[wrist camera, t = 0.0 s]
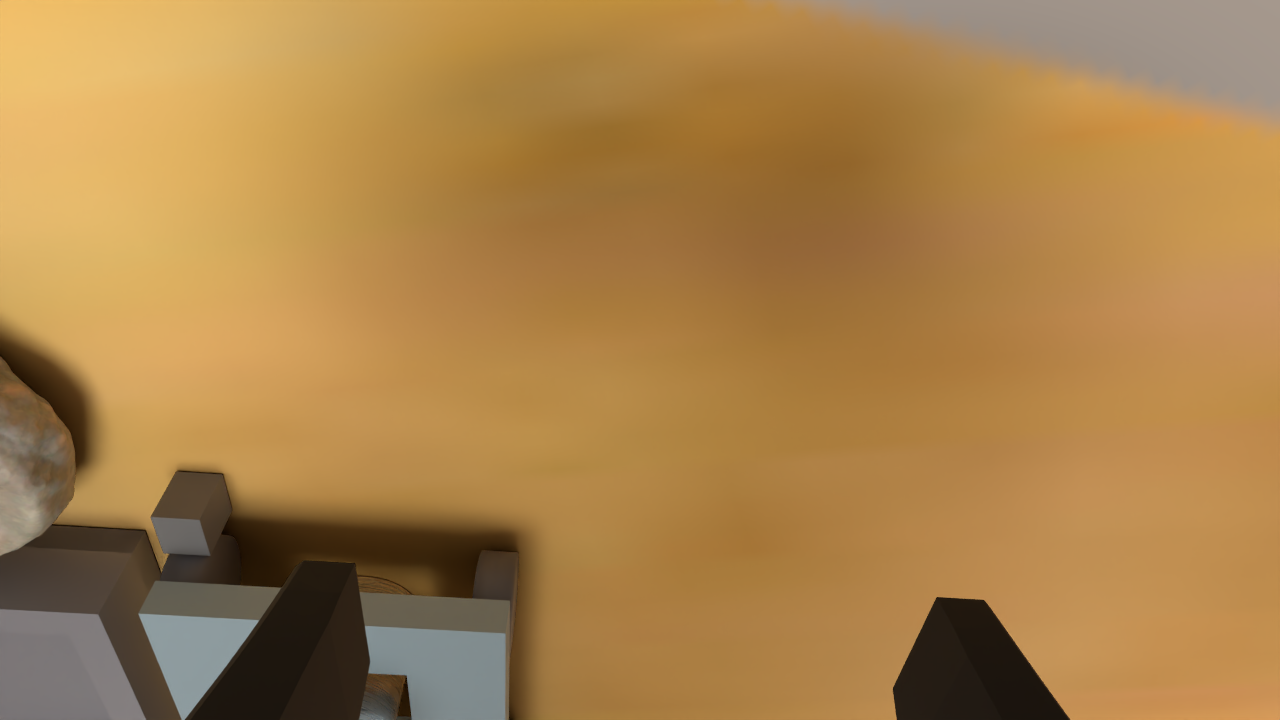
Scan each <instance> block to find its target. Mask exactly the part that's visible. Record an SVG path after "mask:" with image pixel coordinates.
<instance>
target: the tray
mask: <svg viewBox="0 0 1280 720" xmlns="http://www.w3.org/2000/svg"><path fill="white" fill-rule="evenodd" d="M160 578H161V573H160V570H159V567H158V565H157V562H156V559H155V557H154V554H153V551H152V548H151V546H150V543H149V540H148V538H147V535H146V532H145V531H138V530H121V529H105V528H88V527H71V526H54V525H51V526H50V527H49V528H47V530H46V531H45V532H44V533H43V534H42V535H41V536H39V537H36V538H35V539H33V540H31V541H30V542H28V543H27V544H25V545H24V546H22V547H21V548H19V549H17V550H15V551H11V552H8V553H5V554H3V555H1V556H0V720H182V719H181V717H180V714H179V712H178V709H177V707H176V705H175V702H174V700H173V697H172V695H171V692H170V690H169V687H168V685H167V683H166V680H165V678H164V675H163V673H162V670H161V668H160V666H159V663H158V661H157V658H156V656H155V653H154V651H153V648H152V646H151V644H150V641H149V639H148V636H147V634H146V631H145V629H144V626H143V624H142V622H141V619H140V617H139V614H138V613H139V611H140V609H141V607H142V605H143V604H144V602H145V600H146V598H147V596H148V594H149V592H150V590H151V588H152V586H153V584H154V582H155V581H160Z"/></svg>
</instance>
